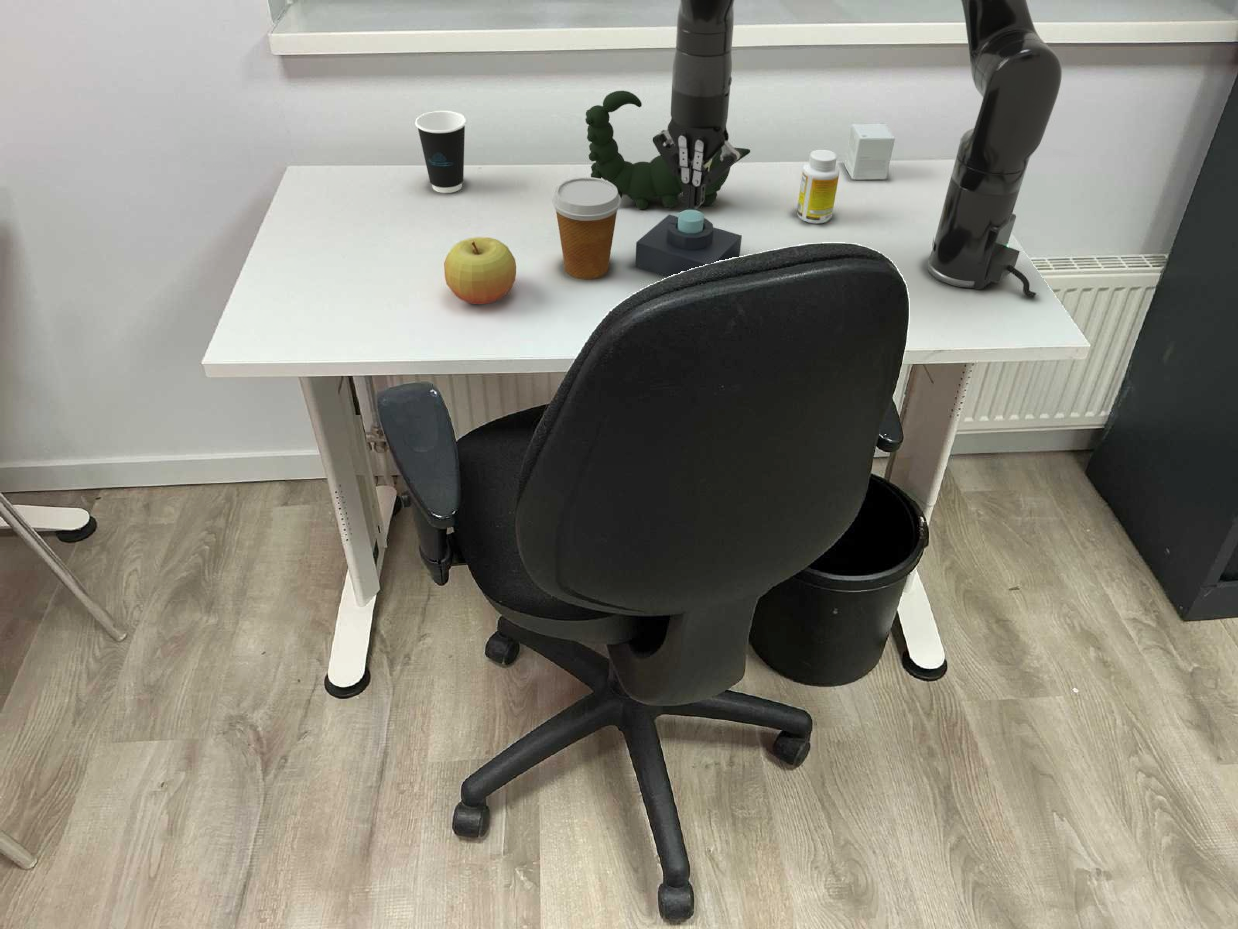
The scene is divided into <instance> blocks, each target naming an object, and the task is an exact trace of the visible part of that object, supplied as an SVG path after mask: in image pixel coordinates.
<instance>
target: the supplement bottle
mask: <svg viewBox="0 0 1238 929" xmlns="http://www.w3.org/2000/svg"><path fill="white" fill-rule="evenodd" d="M808 160H809V161H808V162H807V163H805V164H804V165H803V168H802V171H801V172H802V173H801V178H800V187H799V193H798V199H797V207H796V214H797V217H798V218H799V219H800V220H802V221H804V222H806V223H809V224H823V223H824V224H825V223H827V222H829V221H830V220H831V219H832V217H833V212H834V208H835V201H836V195H837V194H836V193H837V189H838V183H839V179H840V178H839V177H840V168H839V166H837V160H838V155H837V154H836V153H835V152H834V151H832V150H829V149H815V150H813V151H811V153H810V155H809V159H808Z"/></svg>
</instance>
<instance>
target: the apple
mask: <svg viewBox="0 0 1238 929" xmlns="http://www.w3.org/2000/svg"><path fill="white" fill-rule="evenodd" d="M443 267H444V268H443V270H444V279H445V283H446V286H447V287H448V288H449V290H450V291H451V292H452V293H453V294H454V296H455V297H457V298H458V299H459V300H461V301H464V302H466V303H467V304H473V305H487V304H491V303H495V302H497V301H498V300H500V299H502V298H504V297H505V296H506V294H508V292H510V290H511V289H512V288H513V286H514V284H515V282H516V276H517V262H516V258H515V256H514V255H513V253H512V251H511V250H510V248H509V247H508V245H506V244H505V243H503V242H502V241H500V240H499V239H496V238H492V237H485V236H484V237H483V236H478V237H477V236H476V237H470V238H468V239H467V238H466V239H464V240H461V241H459V242H457V243H455V245H453V246H452V248H451V249H450V250H449V252H448V253H447V255H446V257H445V259H444V263H443Z"/></svg>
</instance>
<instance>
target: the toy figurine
mask: <svg viewBox="0 0 1238 929" xmlns="http://www.w3.org/2000/svg"><path fill="white" fill-rule="evenodd" d="M642 103H643V102H642V101H641V99H640V98H639V97H638V96H637V95H635V94H634V93H632V92H631V91H628V90H615V91H613V92H610V93H608V94H607V95H606V96H605V97H604V99H603V101H602V105H600V104H597V105H596V104H595V105H593V106H592V107H590V108H589V109H587V110H586V112H585V123H586V125H587V130H586V131H587V135H586V139H587V141H588V142H590V144H589V145H588V148H589V151H590V153H589V154H588V159H589V161H591V162H593V163H592V164H591V166H590V169H591V173H590V177H593V178H599V179H603V180H606V181H609V182H610V183H612V184H613V185H615V186H616V188H617V190H618V194H619V195H620V197H621V200H622V199H623V196H628V197H629V198H630V199H632V200H634V201H635V206H636V208H638V209H640V210H646V209H647V207H648V206H649V201H652V200H654V199H656V198H658V199H661V204H662V205H663V206H664V207H665V208H668V209H669V208H670V209H672V208H673V207H675V206H677V204H678V198H679V196H680V195H681V194H682V189H683V181H682V179H681V178H680V177H678V176H677V175H676V176H673V175H672V174H671V173H670V171H669V169H668V167H667V166H666V164H665V162H664V160H663V159H662V157H661V155H660V154H659V155H657V156H655V157H654V158H652V160H650V162H649V161H644V160H643V161H637V162H633V163H632V162H631V161H628V160H625V159H624V156H623V155H622V154H621V153H620V152H619V145H618V143H617V141H616V140H615V138H614V133H615V131H614V128H613V125H612V124H611V123H610V113H613V112H615V111H617V110H619V109H621V107H623V106H626V105H634V106H636V107H638V108H641V107H642V106H643V104H642ZM733 148H734V149H740V150H741V151H742V156H741V157H740V158H739V159H738V160H737V161H736V162H735V163H734V164H736V163H738V162H739V161H740V160H742V159H744V158H745V157H746V156H748V155H749V154H750V153H751V149H749V148H746V147H745V148H744V147H734V146H733ZM721 153H722V149H720V151H719V152H718V153H717V154H716V155H715V156H714V157H713V158H712V162H711V164H710V168H709V172H710V171H713V170H714V169H715V168H716V167H717V166H718V165H719V164H720V163H721V162H722V161H721V160H720V155H721ZM734 164H733V165H734ZM730 171H731V167H730V168H729V169H727V170H726V171H725V172H724V173H723V174H722V175H721V176H720V177H719V178H718V179H717V180H715V181H714V182H713V183H712V184H711V185H707V184H706V187H705V200H704V202H703V203H702V204H701V205H703V206H711V205H713V204H714V203H715V202H716V201H717V198H718V192H719V191H721V189H722V187H723V185H724V184H725V182H726V181H727V179H728V178H729V174H730Z"/></svg>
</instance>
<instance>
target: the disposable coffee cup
mask: <svg viewBox="0 0 1238 929" xmlns="http://www.w3.org/2000/svg"><path fill="white" fill-rule="evenodd" d="M551 203H552V205H553V208H554V210H555V214H556V219H557V225H558V233H559V240H560V245H561V252H562V258H563V264H564V271H565V272H566V273H567V274H568V275H569V276H571V277H573V278H576V279H581V280H592V279H597V278H600V277H603V276H604V275H606V274H607V273H608V271H609V266H610V258H611V252H612V246H613V241H614V233H615V226H616V220H617V215H618V210H619V208H620V206H621V204H622V199H621V197H620V195H619V194H618V190H617V188H616V186H615V185H613V184H612V183H610V182H609V181H607V180H604V179H603V178H601V179H599V178H593V177H591V176H580V177H579V176H578V177H574V178H570V179H566V180H563V181H562V182H560V183H559V184H558V185H556V188H555V190H554V193H553V195H552V197H551Z"/></svg>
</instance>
